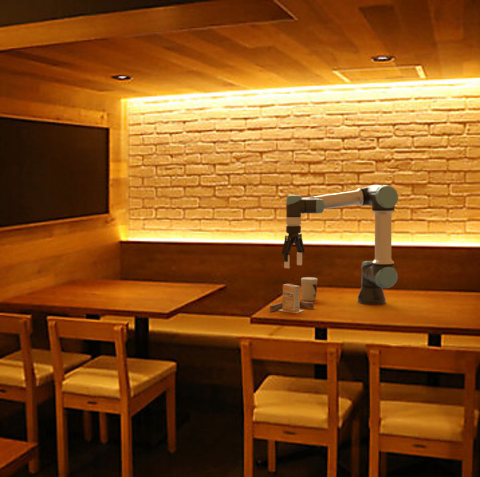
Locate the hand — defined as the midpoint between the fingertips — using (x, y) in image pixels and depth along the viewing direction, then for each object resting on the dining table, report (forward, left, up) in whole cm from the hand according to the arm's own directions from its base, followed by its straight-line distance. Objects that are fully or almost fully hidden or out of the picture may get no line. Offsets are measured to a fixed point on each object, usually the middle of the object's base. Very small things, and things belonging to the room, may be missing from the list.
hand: (293, 266), depth 351 cm
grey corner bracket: (0, 0, -23) cm, 23 cm away
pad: (0, +2, -23) cm, 23 cm away
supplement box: (0, +2, -23) cm, 23 cm away
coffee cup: (+7, -32, -23) cm, 40 cm away
